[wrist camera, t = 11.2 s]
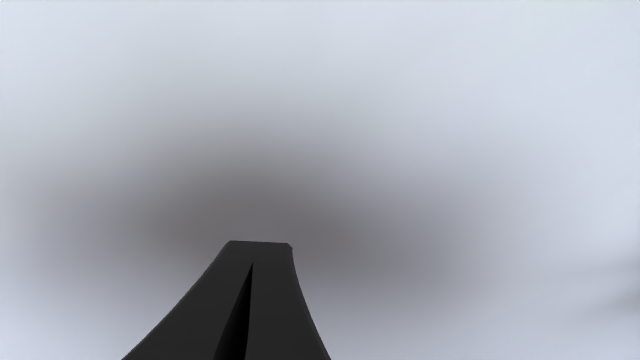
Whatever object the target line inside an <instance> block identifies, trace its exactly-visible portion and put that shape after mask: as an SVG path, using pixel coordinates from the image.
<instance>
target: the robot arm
mask: <svg viewBox="0 0 640 360" xmlns="http://www.w3.org/2000/svg"><path fill="white" fill-rule="evenodd" d="M122 360H331V359H330V357H329V355H328V353H327V351H326V349H325V347H324V344H323V342H322V340H321V338H320V336H319V334H318V332H317V329H316V327H315V325H314V322H313V320H312V318H311V315H310V313H309V310H308V307H307V305H306V302H305V300H304V297H303V294H302V291H301V288H300V285H299V282H298V278H297V275H296V271H295V267H294V262H293V254H292V247H291V246H290V245H289V244H288V243H271V242H250V241H229V242H228V243H227V244H226V245H225V246H224V247H223V249H222V250H221V251H220V253H219V254H218V255H217V257H216V258H215V259H214V261H213V262H212V263H211V265H210V266H209V267H208V268H207V270H206V271H205V272H204V273H203V275H202V276H201V277H200V278H199V279H198V281H197V282H196V283H195V284H194V285H193V286H192V288H191V289H190V290H189V291H188V292H187V293H186V294H185V296H184V297H183V298H182V299H181V300H180V301H179V302H178V304H177V305H176V306H175V307H174V308H173V309H172V310H171V311H170V312H169V313H168V314H167V315H166V316H165V317H164V318H163V319H162V320H161V322H160V323H159V324H158V325H157V326H156V327H155V328H154V329H153V330H152V331H151V332H150V333H149V334H148V335H147V336H146V337H145V338H144V339H143V340H142V341H141V342H140V343H139V344H138V345H137V346H136V347H135V348H133V349H132V350H131V351H130V352H129V353H128V354H127V355H126V356H125V357H124V358H123V359H122Z"/></svg>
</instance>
